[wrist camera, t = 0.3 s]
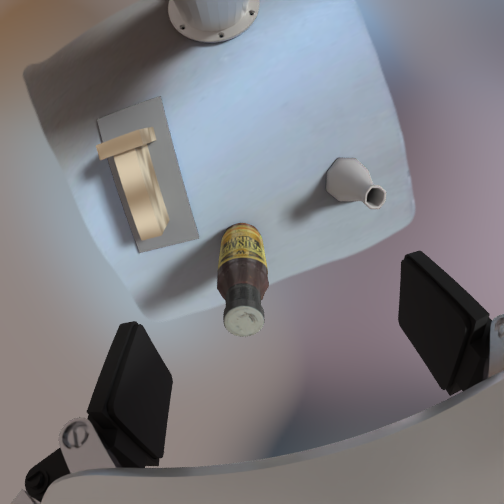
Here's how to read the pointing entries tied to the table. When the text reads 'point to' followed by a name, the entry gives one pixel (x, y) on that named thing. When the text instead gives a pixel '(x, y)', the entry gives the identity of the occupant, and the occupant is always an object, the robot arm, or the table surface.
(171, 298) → the table surface
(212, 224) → the table surface
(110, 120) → the mat
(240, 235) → the sauce bottle
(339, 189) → the flask
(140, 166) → the beige t-shaped block
